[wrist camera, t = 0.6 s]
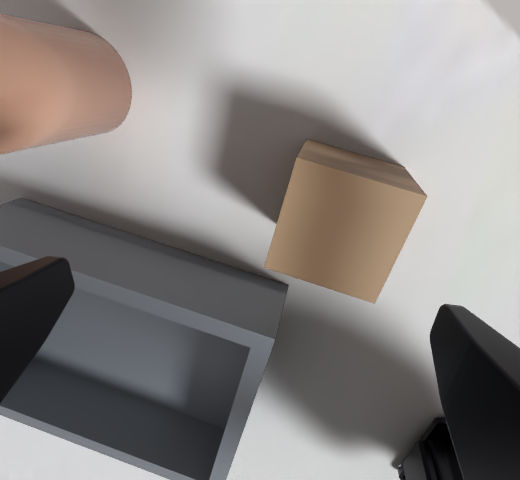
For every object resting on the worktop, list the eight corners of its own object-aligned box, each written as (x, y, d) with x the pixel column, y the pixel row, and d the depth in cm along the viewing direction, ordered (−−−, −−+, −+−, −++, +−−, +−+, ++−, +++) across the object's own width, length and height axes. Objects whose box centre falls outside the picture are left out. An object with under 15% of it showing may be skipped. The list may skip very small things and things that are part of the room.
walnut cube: (404, 167, 17) (427, 196, 13) (366, 252, 19) (374, 303, 15) (306, 138, 18) (296, 157, 13) (280, 226, 20) (264, 267, 15)
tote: (288, 285, 21) (275, 339, 17) (238, 430, 27) (219, 498, 23) (21, 197, 23) (-58, 226, 18) (31, 354, 29) (-26, 405, 24)
